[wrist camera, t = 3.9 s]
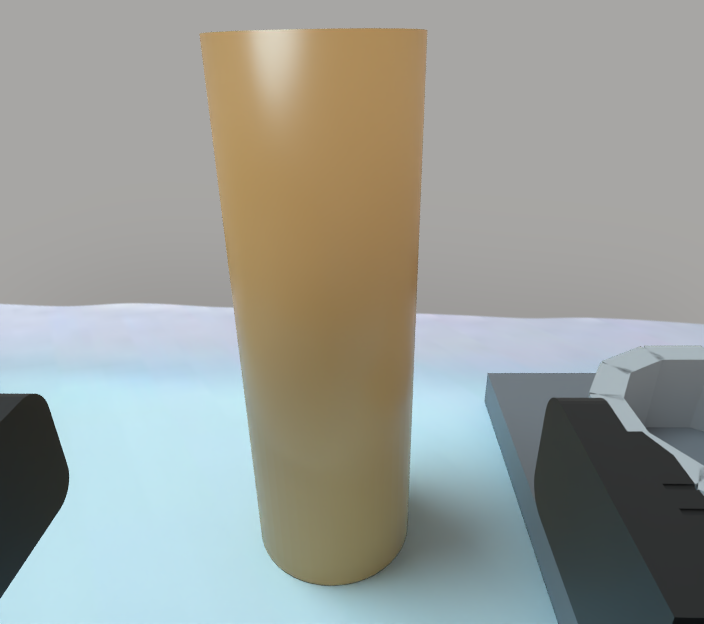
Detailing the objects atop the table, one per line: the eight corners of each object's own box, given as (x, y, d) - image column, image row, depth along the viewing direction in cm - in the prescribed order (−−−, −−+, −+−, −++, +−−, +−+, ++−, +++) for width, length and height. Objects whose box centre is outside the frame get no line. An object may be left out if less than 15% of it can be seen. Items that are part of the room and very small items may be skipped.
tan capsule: (230, 534, 18) (150, 35, 12) (324, 452, 22) (303, 35, 15) (349, 616, 16) (332, 26, 9) (433, 508, 19) (466, 30, 13)
